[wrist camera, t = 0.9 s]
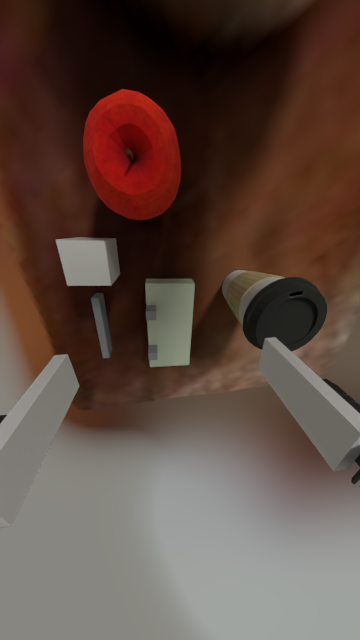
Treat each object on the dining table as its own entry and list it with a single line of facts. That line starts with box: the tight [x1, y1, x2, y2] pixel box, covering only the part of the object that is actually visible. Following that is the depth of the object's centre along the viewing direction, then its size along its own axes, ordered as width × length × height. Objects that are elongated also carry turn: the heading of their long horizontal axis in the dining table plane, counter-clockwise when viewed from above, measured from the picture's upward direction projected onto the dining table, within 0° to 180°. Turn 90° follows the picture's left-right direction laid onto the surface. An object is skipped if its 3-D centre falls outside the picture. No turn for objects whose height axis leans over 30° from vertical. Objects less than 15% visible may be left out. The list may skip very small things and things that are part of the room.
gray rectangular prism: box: [56, 237, 120, 286], centre depth 25 cm, size 6×6×7 cm
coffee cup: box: [222, 270, 327, 351], centre depth 27 cm, size 10×10×15 cm
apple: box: [83, 89, 181, 220], centre depth 20 cm, size 10×10×12 cm
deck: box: [91, 279, 195, 367], centre depth 32 cm, size 17×17×6 cm
